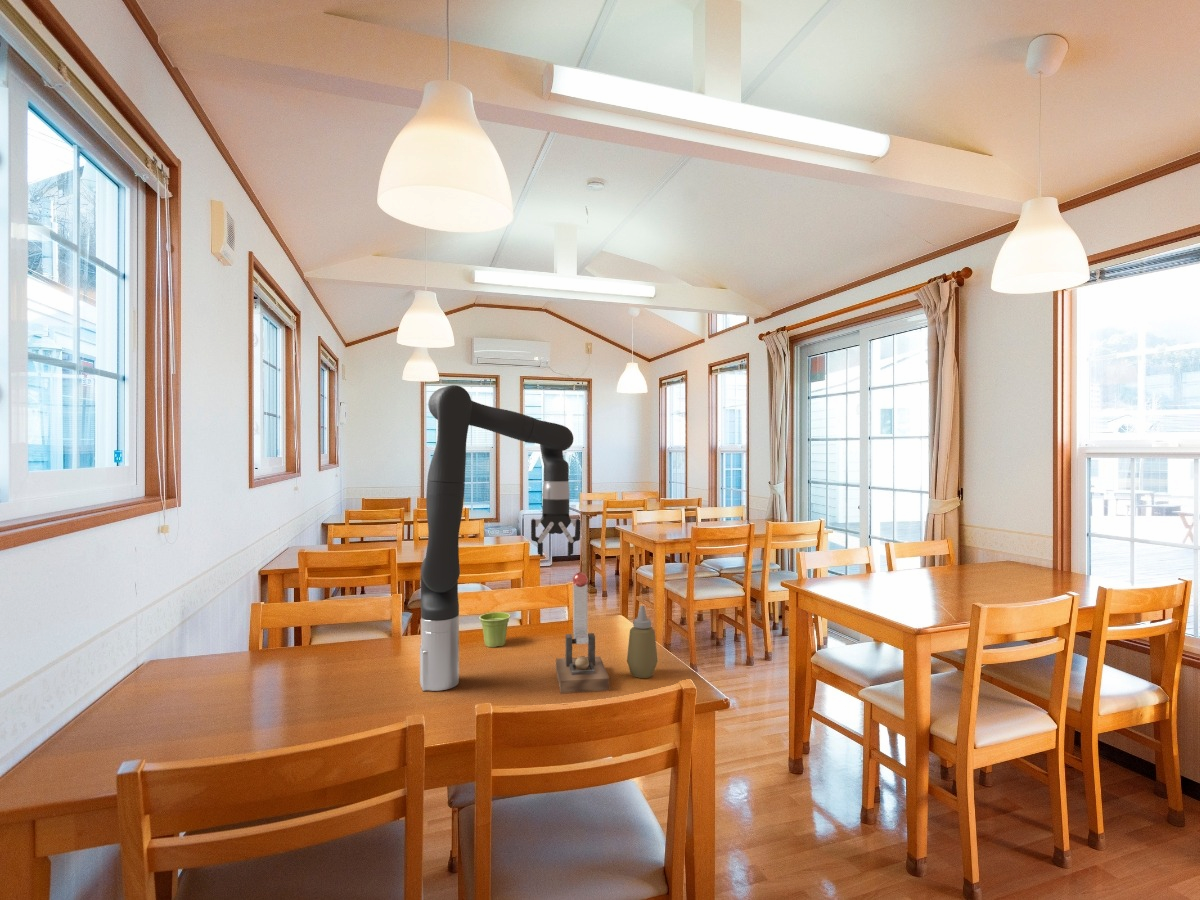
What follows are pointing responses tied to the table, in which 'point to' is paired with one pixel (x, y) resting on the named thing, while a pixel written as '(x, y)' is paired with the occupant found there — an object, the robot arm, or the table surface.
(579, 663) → the walnut
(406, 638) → the table surface
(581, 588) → the lever
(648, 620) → the squeeze bottle
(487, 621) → the plant pot
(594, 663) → the nutcracker base
